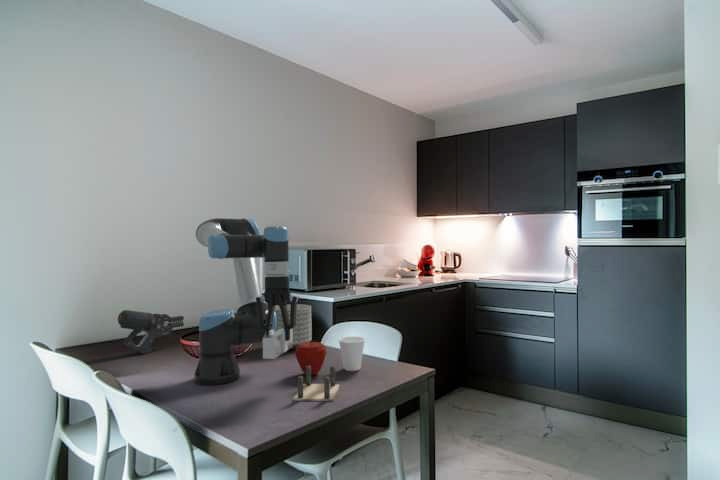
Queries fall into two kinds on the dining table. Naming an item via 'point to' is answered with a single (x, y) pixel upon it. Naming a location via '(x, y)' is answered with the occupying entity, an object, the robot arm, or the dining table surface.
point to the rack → (317, 388)
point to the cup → (352, 352)
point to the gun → (147, 327)
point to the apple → (311, 356)
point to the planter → (297, 323)
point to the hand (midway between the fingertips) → (278, 351)
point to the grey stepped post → (275, 344)
